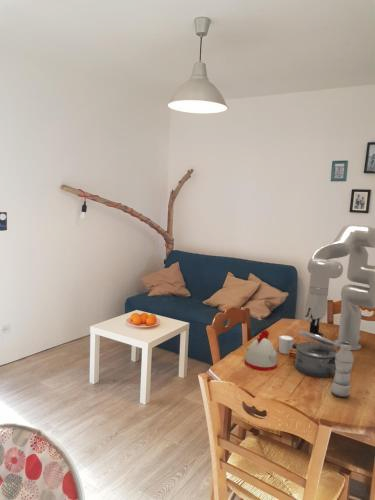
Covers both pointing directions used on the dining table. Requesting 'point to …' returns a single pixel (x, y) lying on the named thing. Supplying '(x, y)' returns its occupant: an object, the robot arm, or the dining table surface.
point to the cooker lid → (319, 338)
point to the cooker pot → (315, 359)
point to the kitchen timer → (261, 354)
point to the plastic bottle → (342, 370)
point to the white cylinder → (285, 344)
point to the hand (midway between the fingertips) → (313, 333)
